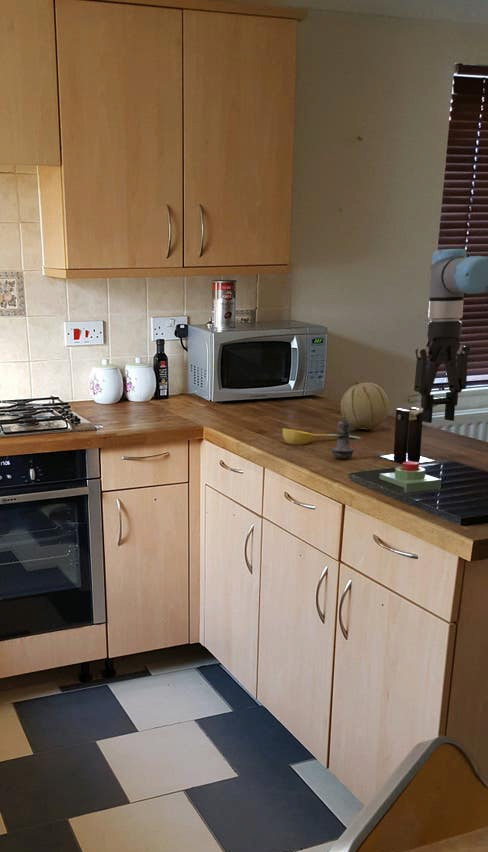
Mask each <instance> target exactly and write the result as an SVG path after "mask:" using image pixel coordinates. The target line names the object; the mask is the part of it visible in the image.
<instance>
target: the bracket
mask: <svg viewBox="0 0 488 852" xmlns="http://www.w3.org/2000/svg"><path fill="white" fill-rule="evenodd" d="M417 409H419V408H418V407H409V409H403V408H396V409H395V424H394V441H393V442H394V443H393V454H386V455H378V458H380V459H385V460H387V461H390V462H394V463H397V464H401V465H402V464H403V462H407V461H412V462H418V463H419V465H420V464H428V463H436V462H437V461H436V460H434V459H430V458H427V457H424V456H421V448H422V433H423V421H422V418H423V413H421V414H419V415H417V416H416V417H417V419H416V420H414V421H412V422H409V412H410V411H408V410H417Z"/></svg>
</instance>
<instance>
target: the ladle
mask: <svg viewBox="0 0 488 852" xmlns="http://www.w3.org/2000/svg"><path fill="white" fill-rule="evenodd" d="M336 434H337V433H336ZM336 434H335V433H330V434H329V433H327V434H326V433H325V434H323V433H321V434H320V433H315V434H314V433H311V432H306V431H301V430H297V429H291V428H290V429H289V428H284V427H283V428H282V437H283V440H284V441H285V442H286V443H287V444H288V445H290V446H291V445H292V446H302V445H303V446H304V445H307V444H309V443H310V442H311V440H312V438H313V437H337V435H336ZM349 439H354V440H359V439H361V437H359V436H355V435H350V436H349Z"/></svg>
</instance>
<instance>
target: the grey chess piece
mask: <svg viewBox="0 0 488 852" xmlns="http://www.w3.org/2000/svg"><path fill="white" fill-rule="evenodd" d="M336 435H337V436H336V437H337V438H336V445H335V446H334V447H332V448H331V449H330V450H331V451H332V456H333V457H334V458H335V459H337V460H340V461H341V460H343V461H344V460H345V461H346V460H348V459H350V458H352V456H353V454H354V451H355V448H353V447H351V446H350V438H349V436H351V433H350V426H349V422H348V421H347V420H345V417H343V416H342V419H341V420H339V421H338V423H337V433H336Z"/></svg>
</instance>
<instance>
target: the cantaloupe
mask: <svg viewBox="0 0 488 852" xmlns="http://www.w3.org/2000/svg"><path fill="white" fill-rule="evenodd" d="M354 384H355V385H352V386H351V387H349V388H348V389H347V390H346V391H345V393H343V396H342V398H341V401H340V413H341V417H342V418H343V417H345V420H347V421H348V422H349V427H351V428H352V427H354V428H353V429H355V428H366V429H369V428H372V429H374V428H375V427H378V426H379V425H381V424H382V423H383V422H384V421H385V420H386V418H387V417H388V415H389V412H390V401H389V397H388V396H387V393H386V392H385V390H384V389H383V388H382V387H381V386H379V385H378V384H375V383H374V382H360V381H359V380H356V381H354Z"/></svg>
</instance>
